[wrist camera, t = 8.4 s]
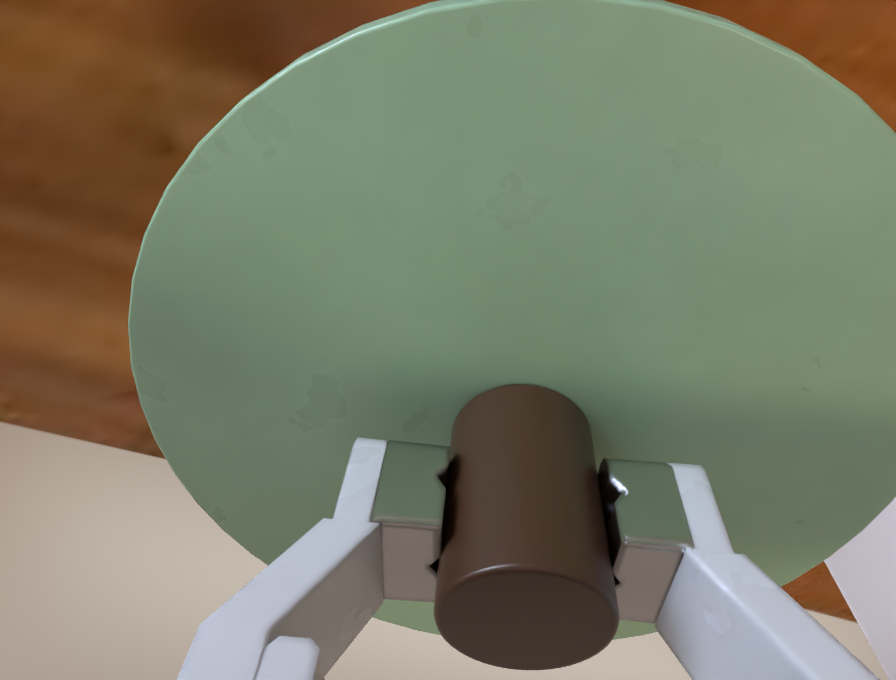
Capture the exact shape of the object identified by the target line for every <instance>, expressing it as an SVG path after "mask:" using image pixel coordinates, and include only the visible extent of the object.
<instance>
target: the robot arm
mask: <svg viewBox="0 0 896 680" xmlns="http://www.w3.org/2000/svg"><path fill="white" fill-rule="evenodd" d="M449 466H450V446H442V445H432V444H423V443H413V442H404V441H394V440H389V441H388V440H378V439H369V438H360V437H358V438H357V440H356V441H355V443H354V444H353V448H352V451H351V455H350V458H349V462H348V466H347V469H346V473H345V476H344V480H343V484H342V487H341V491H340V494H339V498H338V502H337V505H336V509H335V512H334V516H333V519H327V518H323V519H322V520H321V521H320V522H318V523H317V524H316V525H315V526H314V527H313V528H311V529H310V530H309V531H308V532H307V533H306V534H304V535H303V536H302V537H301V538H300V539H299V540H298V541H296V542H295V543H294V544H293V545H292V546H291V547H289V548H288V549H287V550H286V551H285V552H284V553H282V554H281V555H280V556H279V557H278V558H277V559H276V560H274V561H273V562H272V563H271V564H270V565H269V566H267V567H266V568H265V569H264V570H263V571H262V572H260V573H259V574H258V575H257V576H256V577H255V578H254V579H252V580H251V581H250V582H249V583H248V584H247V585H245V586H244V587H243V588H242V589H241V590H240V591H238V592H237V593H236V594H235V595H234V596H233V597H232V598H230V599H229V600H228V601H227V602H226V603H225V604H223V605H222V606H221V607H220V608H219V609H218V610H217V611H215V612H214V613H213V614H212V615H211V616H210V617H208V618H207V619H206V620H205V621H204V622H203V623H201V624H200V626H199V628H198V630H197V633H196V635H195V638H194V640H193V642H192V645H191V647H190V649H189V652H188V654H187V656H186V659H185V661H184V663H183V666H182V668H181V671H180V673H179V675H178V678H177V680H324V676H325V675H326V674H327V672H328V671H329V670H330V669H331V668H332V666H333V665H334V664H335V662H336V661H337V660H338V659H339V657H340V656H341V655H342V654H343V653H344V651H345V650H346V649H347V648H348V646H349V645H350V644H351V643H352V641H353V640H354V639H355V638H356V636H357V635H358V633H360V631H361V630H362V629H363V628H364V626H365V625H366V624H367V623H368V621H369V620H370V619H371V618H372V616H373V615H374V614H375V613H376V611H377V610H378V609H379V608H380V606H381V605H382V604H383V599H389V600H405V601H421V602H434V601H435V591H436V581H437V571H438V561H439V558H440V556H441V547H442V537H443V528H444V518H445V497H446V495H447V488H448V477H449ZM598 480H599V486H600V493H601V499H602V506H603V512H604V518H605V525H606V531H607V538H608V544H609V550H610V557H611V563H612V570H613V576H614V583H615V589H616V595H617V602H618V608H619V620H627V621H636V622H644V623H653V624H655V626H654V627H655V628H656V630H657V631H658V632H659V634H660V635H661V637H662V638H663V639H664V641H665V642H666V644H667V645H668V646H669V648H670V649H671V651H672V652H673V653H674V655H675V656H676V658H677V659H678V660H679V662H680V663H681V664H682V666H683V667H684V669H685V670H686V671H687V673H688V674H689V676H690V677H691V678H692V680H880V679H879V678H878V677H877V676H876V675H875V674H874V673H873V672H871V671H870V670H869V669H868V668H867V667H866V666H865V665H864V664H863V663H862V662H861V661H860V660H859V659H857V658H856V657H855V656H854V655H853V654H852V653H851V652H850V651H849V650H847V648H846V647H845V646H843V645H842V644H841V643H840V642H839V641H838V640H837V639H836V638H835V637H834V636H833V635H831V634H830V633H829V632H828V631H827V630H826V629H825V628H824V627H823V626H822V625H821V624H820V623H819V622H818V621H816V620H815V619H814V618H813V617H812V616H811V615H810V614H809V613H808V612H807V611H806V610H805V609H804V608H802V607H801V606H800V605H799V604H798V603H797V602H796V601H795V600H794V599H793V598H792V597H791V596H789V595H788V594H787V593H786V592H785V591H784V590H783V589H782V588H781V587H780V586H779V585H778V584H777V583H775V582H774V581H773V580H772V579H771V578H770V577H769V576H768V575H767V574H766V573H765V572H764V571H762V570H761V569H760V568H759V567H758V566H757V565H756V564H755V563H754V562H753V561H752V560H751V559H750V558H748V557H747V556H746V555H745V554H736V553H735V552H734V549H733V546H732V543H731V541H730V538H729V535H728V532H727V529H726V526H725V524H724V521H723V518H722V515H721V512H720V509H719V507H718V504H717V501H716V498H715V495H714V492H713V489H712V487H711V484H710V481H709V478H708V475H707V472H706V470H705V469H704V468H703V467H702V466H701V465H693V464H679V463H665V462H651V461H636V460H622V459H608V458H603V460H602V462H601V463H600V467H599V470H598Z"/></svg>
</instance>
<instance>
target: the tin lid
mask: <svg viewBox="0 0 896 680" xmlns="http://www.w3.org/2000/svg"><path fill="white" fill-rule="evenodd" d="M128 330H129V343H130V356H131V367H132V371H133V375H134V379H135V383H136V387H137V391H138V395H139V400H140V404H141V406H142V409H143V411H144V414H145V416H146V419H147V421H148V424H149V426H150V428H151V431H152V433H153V436H154V438H155V441H156V442H157V444H158V446H159V448H160V449H161V451H162V453H163V454H164V456H165V458H166V460H167V461H168V463H169V465H170V466H171V468H172V470H173V472H174V473H175V475H176V476H177V477H178V479H179V480H180V481H181V483H182V484H183V485H184V486H185V488H186V489H187V490H188V492H189V493H190V494H191V495H192V497H193V498H194V500H195V501H196V502H197V503H198V504H199V505H200V506H201V508H202V509H203V510H204V511H205V512H206V513H207V514H208V515H209V516H210V517H211V518H212V519H213V520H214V521H215V522H216V523H217V524H218V525H219V526H220V527H221V528H222V529H223V530H224V531H225V532H226V533H227V534H229V535H230V536H231V537H232V538H233V539H234V540H236V541H237V542H238V543H239V544H240V545H242V546H243V547H244V548H245V549H246V550H247V551H249V552H250V553H251V554H253V555H254V556H255V557H257V558H258V559H260V560H261V561H263V562H264V563H266V564H267V565H268V566H269V565H270V564H271V563H272V562H273V561H274V560H276V559H277V558H278V557H279V556H280V555H281V554H282V553H284V552H285V551H286V550H287V549H288V548H289V547H291V546H292V545H293V544H294V543H295V542H296V541H298V540H299V539H300V538H301V537H302V536H303V535H304V534H306V533H307V532H308V531H309V530H310V529H311V528H313V527H314V526H315V525H316V524H317V523H318V522H320V521H321V520H322V519H323V518H327V519H333V516H334V512H335V509H336V505H337V502H338V498H339V494H340V491H341V487H342V484H343V480H344V476H345V473H346V469H347V466H348V462H349V458H350V455H351V451H352V448H353V444H354V443H355V441H356V440H357V438H358V437H360V438H369V439H378V440H388V441H389V440H394V441H404V442H413V443H423V444H432V445H442V446H450V466H449V477H448V488H447V495H446V497H445V518H444V528H443V537H442V547H441V556H440V558H439V561H438V571H437V581H436V591H435V601H434V602H421V601H405V600H389V599H383V604H382V605H381V606H380V608H379V609H378V610H377V611H376V613H375V614H374V615H373V616H372V617H374V618H377V619H379V620H382V621H386V622H390V623H393V624H396V625H400V626H404V627H408V628H411V629H414V630H418V631H424V632H428V633H433V634H438V635H442V637H443V638H444V639H445V640H446V641H447V642H448V643H449V644H450V645H451V646H452V647H454V648H455V649H456V650H458V651H459V652H461V653H463V654H464V655H466V656H468V657H470V658H472V659H475V660H477V661H480V662H483V663H486V664H489V665H493V666H497V667H502V668H508V669H516V670H517V669H518V670H546V669H554V668H561V667H565V666H570V665H573V664H576V663H579V662H582V661H584V660H586V659H589V658H591V657H592V656H594V655H596V654H597V653H599V652H600V651H602V650H603V649H604V648H605V647H606V646H607V645H608V644H609V643H610V642H611V641H612V640H614V639H620V638H627V637H633V636H640V635H645V634H649V633H653V632H658V631H657V630H656V628H655V627H654V626H655V624H653V623H644V622H636V621H627V620H619V608H618V602H617V595H616V589H615V583H614V576H613V570H612V563H611V557H610V550H609V544H608V538H607V531H606V525H605V518H604V512H603V506H602V499H601V493H600V486H599V480H598V470H599V467H600V463H601V462H602V460H603V458H608V459H622V460H636V461H651V462H665V463H679V464H693V465H701V466H702V467H703V468H704V469H705V470H706V472H707V475H708V478H709V481H710V484H711V487H712V489H713V492H714V495H715V498H716V501H717V504H718V507H719V509H720V512H721V515H722V518H723V521H724V524H725V526H726V529H727V532H728V535H729V538H730V541H731V543H732V546H733V549H734V552H735V553H736V554H745V555H746V556H747V557H748V558H750V559H751V560H752V561H753V562H754V563H755V564H756V565H757V566H758V567H759V568H760V569H761V570H762V571H764V572H765V573H766V574H767V575H768V576H769V577H770V578H771V579H772V580H773V581H774V582H775V583H777V584H778V585H779V586H780V587H781V586H783V585H785V584H787V583H789V582H791V581H793V580H794V579H796V578H798V577H799V576H801V575H802V574H804V573H805V572H807V571H809V570H810V569H812V568H813V567H815V566H816V565H818V564H819V563H821V562H823V561H824V560H826V559H827V558H829V557H830V556H831V555H833V554H834V553H835V552H836V551H838V550H839V549H840V548H842V547H843V546H844V545H845V544H847V543H848V542H849V541H850V540H852V539H853V538H854V537H855V536H857V535H858V534H859V533H860V532H862V531H863V530H864V529H865V528H866V527H867V526H868V525H869V524H870V523H871V522H872V521H873V520H874V519H875V518H876V517H877V516H878V515H879V514H880V513H881V512H882V511H883V510H884V509H885V508H886V507H887V506H888V505H889V504H890V503H891V502H892V501H893V500H894V498H895V497H896V133H895V132H894V131H893V130H892V129H891V128H890V127H889V126H888V125H887V124H886V123H885V122H884V120H883V119H882V118H881V117H880V116H879V115H878V114H877V113H876V112H875V111H874V110H873V109H872V108H871V107H870V106H869V105H868V104H867V103H866V102H865V101H864V100H863V99H862V98H861V97H860V96H859V95H858V94H856V93H855V92H853V91H852V90H850V89H849V88H847V87H846V86H845V85H843V84H842V83H840V82H839V81H837V80H836V79H835V78H833V77H832V76H830V75H829V74H827V73H826V72H824V71H823V70H822V69H820V68H819V67H817V66H816V65H814V64H813V63H812V62H810V61H809V60H807V59H806V58H804V57H803V56H801V55H800V54H798V53H796V52H794V51H793V50H791V49H789V48H787V47H785V46H783V45H781V44H779V43H777V42H774V41H772V40H770V39H768V38H766V37H764V36H762V35H760V34H757V33H755V32H753V31H751V30H749V29H747V28H745V27H743V26H740V25H738V24H736V23H734V22H732V21H730V20H728V19H725V18H723V17H720V16H716V15H713V14H709V13H706V12H702V11H699V10H695V9H692V8H688V7H685V6H681V5H678V4H674V3H671V2H667V1H664V0H441V1H436V2H430V3H427V4H424V5H421V6H418V7H415V8H412V9H409V10H406V11H403V12H400V13H397V14H394V15H391V16H388V17H385V18H381V19H378V20H375V21H372V22H369V23H366V24H363V25H361V26H359V27H357V28H355V29H353V30H351V31H349V32H347V33H345V34H343V35H341V36H339V37H337V38H335V39H333V40H331V41H330V42H328V43H326V44H324V45H322V46H320V47H318V48H316V49H314V50H312V51H310V52H308V53H306V54H304V55H302V56H301V57H299V58H298V59H297V60H295V61H294V62H292V63H291V64H290V65H288V66H287V67H285V68H284V69H283V70H281V71H280V72H279V73H277V74H276V75H274V76H273V77H272V78H270V79H269V80H267V81H266V82H265V83H263V84H262V85H260V86H259V87H258V88H256V89H255V90H253V91H252V92H251V93H250V94H248V95H247V96H246V97H245V98H243V99H242V100H241V101H240V102H239V103H238V104H237V105H236V106H235V107H234V108H233V109H232V110H231V111H230V112H229V113H228V114H227V115H226V116H225V117H224V118H223V119H222V120H221V121H220V122H219V123H218V124H217V125H216V126H215V127H214V128H213V129H212V130H211V131H210V132H209V133H208V134H207V135H206V136H205V137H204V138H203V139H202V140H201V141H200V142H199V143H198V144H197V145H196V147H195V148H194V149H193V151H192V152H191V154H190V155H189V156H188V158H187V159H186V161H185V162H184V164H183V165H182V166H181V168H180V169H179V171H178V172H177V173H176V175H175V176H174V178H173V179H172V180H171V182H170V183H169V185H168V186H167V187H166V189H165V192H164V194H163V196H162V198H161V200H160V202H159V204H158V206H157V208H156V210H155V213H154V215H153V217H152V219H151V221H150V223H149V225H148V227H147V229H146V232H145V234H144V237H143V241H142V245H141V248H140V252H139V256H138V259H137V263H136V267H135V270H134V274H133V278H132V287H131V298H130V309H129V319H128Z"/></svg>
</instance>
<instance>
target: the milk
mask: <svg viewBox="0 0 896 680" xmlns="http://www.w3.org/2000/svg"><path fill="white" fill-rule="evenodd" d="M824 562H825V564H826V565H827V567H828V569H829V571H830V573H831V575H832V576H833V578H834V580H835V582H836V584H837V586H838V587H839V589H840V591H841V593H842V595H843V597H844V598H845V600H846V602H847V604H848V606H849V608H850V609H851V611H852V613H853V615H854V617H855V619H856V620H857V622H858V624H859V626H860V628H861V629H862V631H863V633H864V635H865V637H866V639H867V640H868V642H869V644H870V646H871V648H872V649H873V652H874V653H875V655H876V657H877V659H878V661H879V662H880V664H881V666H882V668H883V670H884V672H885V674H886V675H887V677H888V679H889V680H896V497H895V498H894V500H893V501H892V502H891V503H890V504H889V505H888V506H887V507H886V508H885V509H884V510H883V511H882V512H881V513H880V514H879V515H878V516H877V517H876V518H875V519H874V520H873V521H872V522H871V523H870V524H869V525H868V526H867V527H866V528H865V529H864V530H863V531H862V532H860V533H859V534H858V535H857V536H855V537H854V538H853V539H852V540H850V541H849V542H848V543H847V544H845V545H844V546H843V547H842V548H840V549H839V550H838V551H836V552H835V553H834V554H833V555H831V556H830V557H829V558H827V559H826V560H824Z"/></svg>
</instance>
